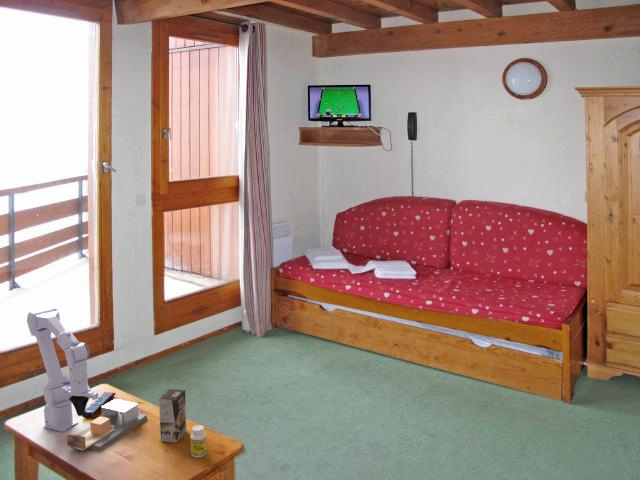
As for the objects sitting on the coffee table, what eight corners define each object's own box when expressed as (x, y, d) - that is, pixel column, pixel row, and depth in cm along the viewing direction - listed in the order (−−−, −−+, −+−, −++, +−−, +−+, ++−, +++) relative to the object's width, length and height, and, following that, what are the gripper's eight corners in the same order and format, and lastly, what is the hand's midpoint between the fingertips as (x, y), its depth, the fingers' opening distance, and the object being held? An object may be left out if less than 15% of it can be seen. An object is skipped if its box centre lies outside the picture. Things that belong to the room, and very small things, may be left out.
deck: (70, 443, 228) (69, 439, 228) (119, 412, 252) (119, 408, 251) (99, 451, 223) (99, 446, 223) (147, 418, 247) (146, 415, 247)
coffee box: (177, 443, 229) (175, 400, 226) (159, 441, 230) (158, 398, 227) (187, 431, 238) (186, 389, 235) (170, 429, 239) (169, 388, 236)
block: (90, 432, 231) (90, 422, 231) (100, 426, 236) (99, 416, 235) (100, 435, 230) (100, 424, 229) (110, 428, 234) (109, 418, 233)
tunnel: (102, 421, 241) (101, 406, 240) (115, 413, 248) (114, 398, 247) (125, 426, 237) (124, 412, 236) (138, 418, 244) (137, 403, 243)
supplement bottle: (206, 449, 225) (205, 423, 224) (207, 457, 220) (206, 430, 218) (190, 450, 224) (189, 425, 222) (191, 458, 219) (190, 432, 217)
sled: (67, 446, 223) (66, 434, 222) (99, 426, 237) (98, 414, 236) (83, 450, 220) (82, 438, 219) (114, 430, 234) (113, 418, 233)
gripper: (103, 377, 227) (105, 413, 230) (70, 370, 233) (73, 406, 236) (89, 385, 221) (91, 422, 224) (56, 378, 227) (58, 414, 229)
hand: (81, 414), depth 229 cm, fingers closed
